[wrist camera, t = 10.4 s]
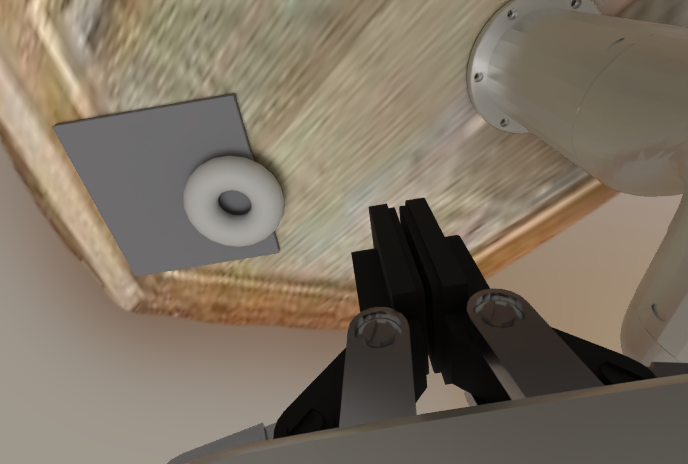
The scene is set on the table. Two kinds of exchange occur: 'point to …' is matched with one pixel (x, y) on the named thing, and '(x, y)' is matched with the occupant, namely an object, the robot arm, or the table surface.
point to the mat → (160, 179)
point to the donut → (237, 177)
